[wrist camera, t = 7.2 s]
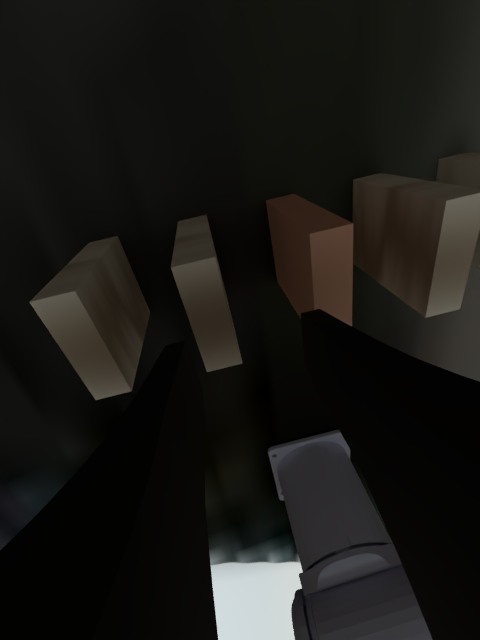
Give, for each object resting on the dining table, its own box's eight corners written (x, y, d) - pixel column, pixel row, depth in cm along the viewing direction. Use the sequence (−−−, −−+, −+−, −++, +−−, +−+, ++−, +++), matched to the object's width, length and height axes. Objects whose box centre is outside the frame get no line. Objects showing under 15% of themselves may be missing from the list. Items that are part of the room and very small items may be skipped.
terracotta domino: (301, 275, 19) (351, 336, 13) (277, 281, 19) (316, 344, 13) (293, 193, 16) (353, 223, 10) (265, 200, 16) (309, 233, 10)
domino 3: (375, 257, 19) (459, 309, 13) (351, 262, 19) (425, 317, 13) (380, 172, 16) (489, 190, 10) (353, 179, 16) (446, 200, 10)
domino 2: (226, 293, 19) (242, 363, 13) (202, 299, 19) (206, 372, 13) (206, 214, 16) (215, 256, 10) (178, 221, 16) (170, 267, 10)
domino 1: (150, 312, 19) (131, 390, 13) (125, 318, 19) (95, 400, 13) (117, 235, 16) (74, 290, 10) (89, 242, 16) (29, 302, 10)
